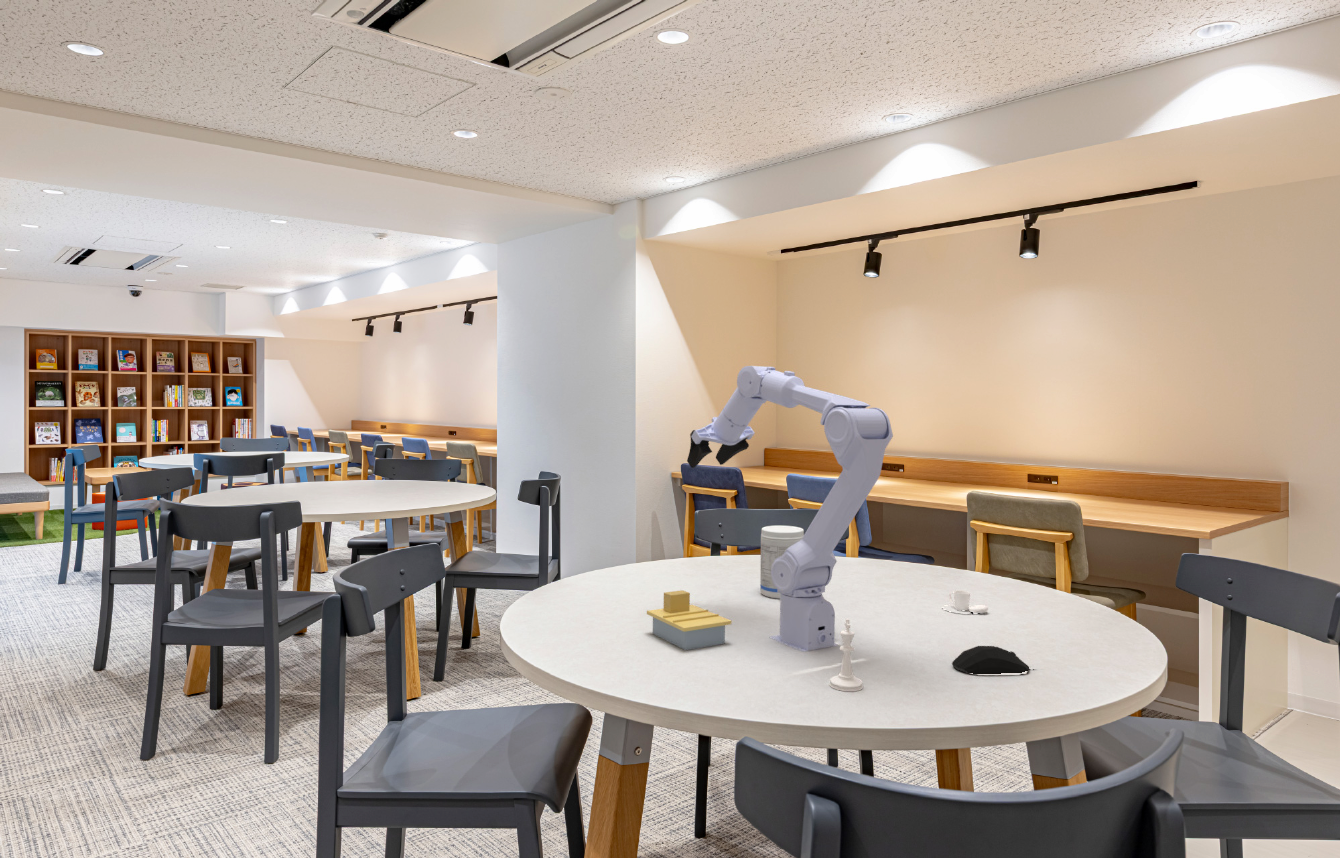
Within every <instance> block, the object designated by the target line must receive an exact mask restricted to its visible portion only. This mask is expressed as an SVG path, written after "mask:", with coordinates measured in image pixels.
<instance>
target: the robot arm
mask: <svg viewBox="0 0 1340 858" xmlns="http://www.w3.org/2000/svg"><path fill="white" fill-rule="evenodd" d="M736 386H737V387H736V388H735V390H733V391H734V392H733V393H732V394H731V396H730V398H729V399H728V400H727V402H726V404H725V405H724V407H723V408H722V410H721V412H720V413H719V414H718V416H712V417H711V418H712V419H711V423H708V425H705V426H704V427H701V428H699V429H693V430H691V432H690V434H689V438H690V446H689V451H688V456H687V460H686V462H687V464H688V465H689V466H690V468H692V469H695V468H696V467H697V466H698V465H699V463H701V461H703V459H704V458H705V457H707V455H710V454H711V453H713V451H712V449H711V447H710V446H709V445H710V443H709V442H712V443H716V444H721V446H720V448H719V449H718V451H717V453H716V455H715V459H716V461H717V462H718V464H719V465H720V466H721V465H724V464H725V463H727V462H728V461H729V460H730V459H732V458H733V457H735V456H736V455H737V454H739V453H741V452H743V451H745V450H747V449H748V448H749V446H750V445H749V443H748V441H747V440H751V439H752V438H753V437H754V435H755V434H756V433H755V431H754V429H752V427H751V426H750V425H749V424H750V422H751V421H752V420H753V418H754V417H755V415H756V414H757V413H758V411H759V410H760V408H761V406H762V405H763V404H766V402H770V403H773V404H776V405H779V406H782V407H785V408H788V409H793V408H796V407H798V406H799V405H800V406H802V407H805V408H807V409H809V410H812V411H815V412H818V413H820V414H821V417H820V421H819V422H820V425H821V426H823V428H824V434H825V438H826V440H827V442H828V444H829V447H830V448H831V451H832V453H833V455H834V457H835V459H836V461H837V463H838V465H840V466H841V468H842V471H841V472H840V474H839V476H838V478H836V481H835V482H834V484H833V486H832V488H830V491H829V492H828V494H827V496H826V497H825V499H824V501H823V503H822V504H821V506H820V508H819V509H818V511H817V513H816V514H815V516H814V518H813V519H812V521H811V523H810V524H809V526H808V528H807V530H806V531H805V533H804V536H803V538H802V539H801V540H800V541H798V542H797V543H795V544H793V545H792V546H790V547H789V548H787V549H786V551H785V552H784V554H783V555H782V556H780V557H778V558H777V559H775V561H774V562H773V564H772V567H771V578H772V581H773V584H774V586H775V587H776V588H777V592H778V593H780V599H779V602H780V605H779V634H778V635H777V634H776V635H773V636H769V639H772V640H774V641H776V642H778V643H781V644H783V645H786V646H788V647H791V648H794V649H796V650H798V651H800V652H809V651H814V650H815V651H816V650H820V649H825V648H830V647H837V646H838V645H839V644H837V643H836V642H835V631H836V630H835V628H836V625H835V620H836V613H835V609H834V606H833V604H832V603H831V602H830V601H828V600H827V599H825V597H824V596H823V593H826V587H827V586H828V585H829V584H830V583H831V580H832V576H833V572H834V571H833V570H834V567H835V566H836V564H837V562H838V561H837V559H836V556H835V554H834V552H833V551H834V550H835V548H836V547H837V545H838V544H839V542H840V540H841V538H843V535H844V534H845V532H846V531H847V529H848V527H849V526H850V524H851V523H852V521H853V520H854V518H855V517H856V514H858V512H859V511H860V509H861V507H862V505H863V504H864V502H865V501H866V499H867V498H868V496H869V495H870V493H871V491H872V489H873V488H874V486H875V484H876V483H877V481H878V480H879V478H880V476H881V471H882V467H883V463H884V457H885V452H886V449H887V448H888V446H889V444H890V442H891V441H892V439H893V437H894V434H893V429H892V426H891V421H890V419H889V416H888V414H887V413H886V412H885V411H884V410H883V409H881V408H879V407H871V405H870V404H868V403H867V402H864V401H861V400H858V399H855V398H851V397H848V396H844V395H841V394H840V395H839V394H836V393H832V392H828V391H824V390H821V389H816V388H813V387H808V386H805V382H804V381H803V379H802V378H800V377H799V376H796V372H794V371H790V370H784V372H781V371H779V370H776V367H774V366H762V365H761V366H759V365H746V366H743V367H742V368H741V369H739V372H738V374H737V379H736ZM868 407H869V408H868Z"/></svg>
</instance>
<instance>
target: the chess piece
mask: <svg viewBox="0 0 1340 858" xmlns="http://www.w3.org/2000/svg"><path fill="white" fill-rule="evenodd" d="M844 626H845V630H844V629H843V630H841V631H840V637H841V639H842V642H843V643H842V645H840V647H839V650H840V651H842V652H843V655H842V662H841V669H840V672H838V675H834V676H831V677H830V679H829V682H828V683H829V685H828V686H829V687H831V689H833V690H836V691H841V692H849V693H850V692H859V691H861V690H863V688H864V686H863V680H861V679H860V678H858V677H856V676H855V674H854V673H853V670H852V659H851V652H854V651H855V647H853V646H852V642H853V639H854V637H855V632H854V631H852V630H850V629H851V624H850V619H849V618H845V621H844Z"/></svg>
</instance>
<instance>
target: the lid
mask: <svg viewBox="0 0 1340 858" xmlns="http://www.w3.org/2000/svg"><path fill="white" fill-rule="evenodd" d="M690 594H691V593H690V592H688V591H686V590H681V589H680V590H674V591H665V592H663V608H658V609H657V608H656V609H651V610H650V609H649V610H646V615H648V616H650V617H652V618H653V617H654V618H656V619H658V620H660V621H663V622H665V623H667V624H669V625H671V626H673V627H675V628H677V629H679V630H682V631H684V632H685V631H692V630H698V629H704V628H711V627H717V626H724V625H725V626H729V625H732V624H733V623H732V620H731V619H728V618H726V617H723V616H720V614H719V613H713V612H711V611H709V609H704V608H701V607H699V606H697V605H694V604H690V601H691V600H690V599H691V598H690V596H691V595H690Z"/></svg>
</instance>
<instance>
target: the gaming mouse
mask: <svg viewBox="0 0 1340 858" xmlns="http://www.w3.org/2000/svg"><path fill="white" fill-rule="evenodd" d="M951 665H952V667H953V668H955V669H956V670H957V671H959V670H960V672H962V671H964V672H963V673H965V672H967V673H966V674H968V673H973V674H1001V673H1022V672H1025V671H1028V672H1029V671H1030V670H1029V667H1030V666H1029V665H1028V664H1027V663H1025V662H1024V661H1023V660H1021V659H1020V657H1019V656H1017V654H1016V653H1015V652H1014V651H1011V650H1009V651H1008V650H1007V649H1004V648H1001V647H999V646H996V645H976V646H975V647H971V648H969V649H965V650H963V651H962V652H961V653H960V654H959V655H958V656H957V657H955V659H953V661H952V662H951Z"/></svg>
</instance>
